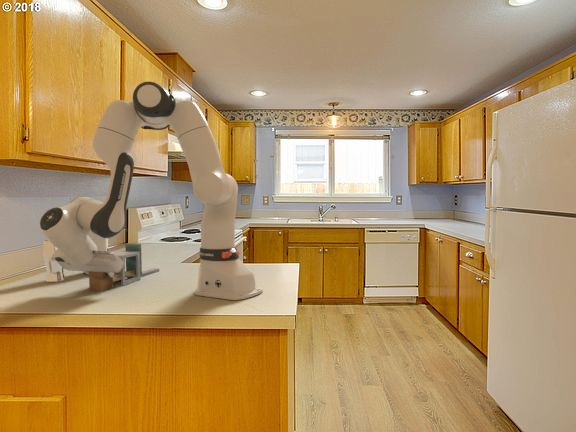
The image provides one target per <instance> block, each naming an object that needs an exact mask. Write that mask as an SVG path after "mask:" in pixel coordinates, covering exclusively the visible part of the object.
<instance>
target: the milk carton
mask: <svg viewBox="0 0 576 432" xmlns="http://www.w3.org/2000/svg"><path fill="white" fill-rule="evenodd" d="M88 236H89V237H90V238H91V240H92V241H93V242H94V243H95V244H96V246H97V251H109V238H103V237H101V236H99V235H97V234H95V233H93V232H89V233H88Z"/></svg>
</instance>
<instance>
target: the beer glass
mask: <svg viewBox="0 0 576 432" xmlns="http://www.w3.org/2000/svg"><path fill="white" fill-rule="evenodd" d="M42 241H43V244H42V254H43V255H42V256H43V261H44V264H45V269H46V276H45V282H46V283H59V282H64V281H65V280H66V278H65V274H64V273H65V272H64V268H63V267H62V266H60V265H59V264H58V263H57V261H55V260H53V259H52V257H53V255H54V253H55V251H56V250H57V248H56V247H55V246H53V245H52V243H51V242H50V241H49V240H48V239H45V240H44V239H43V240H42Z"/></svg>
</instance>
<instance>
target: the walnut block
mask: <svg viewBox="0 0 576 432" xmlns="http://www.w3.org/2000/svg"><path fill="white" fill-rule="evenodd" d="M106 274H107V273H106V272H92V271H89V275H88V276H89V277H88V282H89V283H88V284H89V291H96V292H97V291H98V292H104V291H107V290H110V289H113V288H114V282H113V277H108V276H106Z"/></svg>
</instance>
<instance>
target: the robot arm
mask: <svg viewBox="0 0 576 432" xmlns="http://www.w3.org/2000/svg"><path fill="white" fill-rule="evenodd" d="M209 125H210V124H209V122H208V121H207V119H206V117H205V115H204V114H203V112H202V111H201V109H200V107H199V106H198V105H197V104H196V103H195V102H194V101H192V100H185V99H184V100H181V101H176V97H175V96H174V95H173V94H172V93H170V92H169V91H168V90H166V88H164V87H163V86H161V84H158V83H157V82H154V81H144V82H141V83H140V84H138V85H137V86H136V87H135V89H133V93H132V101H127V100H122V99H115V100H113V101H111V102H110V103H109V104H108V106H107V107H106V108H105V111H104V112H103V114H102V116H101V118H100V120H99V123H98V125H97V127H96V130H95V132H94V135H93V139H92V147H93V150H94V152H95V154H96V156H97V157H98V158H99V159H100V160H101V161H102V162H104V163H105V164H106V165H107V167H108V169H109V171H110V180H109V185H108V188H107V189H108V190H107V192H106V193H107V194H106V199H105V200H104V202H103V201H101V200H98V199H95V198H92V197H87V196H77V197H76V198H74V199H72V200H71V201H70V202H69V203H67V204H65V205H63V206H58V207H55V206H54V207H52V208H49V209H48V210H47V211H46V212H45V213H44V214H43V215H42V216H41V218H40V221H39V227H40V229H41V232H42V233H43V235H44V236H45V238H46V240H49V241H50V242H51V243H52V245H53V246H55V247H56V248H57V250H56V251H55V253H54V255H53V257H52V259H53V260H55V261H57V263H58V264H59V265H60V266H62V267H63V270H65V271H68V272H69V271H72V272H73V271H74V272H82V273H83V274H87V275H88V276H89V271H92V272H106V273H107V274H106V276H108V277H113V276H114V272H116V273H118V272H120V270H121V269H122V267H123V264H124V263H123V261H122V260H121V259H120V258H119V257H118V256H117V255H116V254H114V253H113V252H114V251H110V250H108V251H97V246H96V244H95V243H94V242H93V241H92V240H91V238H90V237H89V236H88V233H89V232H93V233H95V234H97V235H99V236H101V237H103V238H108V239H111V238H113V237H115V236H116V235H118V234H120V233H121V231H122V230H124V228H125V225H126V221H127V204H128V201H129V195H130V191H131V187H132V186H131V185H132V181H133V175H134V167H135V162H134V159H133V156H132V155H133V154H132V152H133V151H132V150H133V145H134V142H135V140H136V137H137V134H138V131H139V130H140V129H142V130H153V131H163V130H166V129H168V128H169V127H171V128H172V130H173V131H174V133H175V136H176V138H177V141H178V143H179V145H180V148H181V150H182V153H183V155H184V158H185V161H186V162H187V165H188V169H189V170H188V171H189V174H190V179H191V183H192V192H193V194H194V196H195V199H197V200H198V201H200V203H202V204H203V205H204V208H203V214H202V219H201V222H200V248H199V251H198V253H199V259H200V264H199V268H198V276H197V277H198V278H197V287H196V290H195V293H194V295H195V296H201V297H202V296H203V297H206V298H207V297H208V298H215V299H223V300H230V301H238V300H244V299H248V298H251V297H255V296H257V295H260V294H262V293H263V291H264V290H263V287H260V286H256V279H255V274H254V273H253V271H252V270H251V269H249V267H247V266H246V264H244V263H243V262H242V260H241V259H240V256H239V255H241V254H242V253H241V252H242V250H238V248H237V247H236V246H235V244H236V243H235V242H236V237H235V236H236V235H235V233H236V232H235V231H236V230H235V229H236V228H235V227H236V226H235V224H236V216H237V215H236V213H237V206H238V205H237V204H238V192H239V186H238V182H237V181H236V179H235V178H234V177H233V176H232V175H230V174H229V173H226V170H225V168H224V165H223V162H222V159H221V153H220V149H219V146H218V144H217V142H216V140H215V137H214V135H213V133H212V130H211V128H210V126H209Z"/></svg>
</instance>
